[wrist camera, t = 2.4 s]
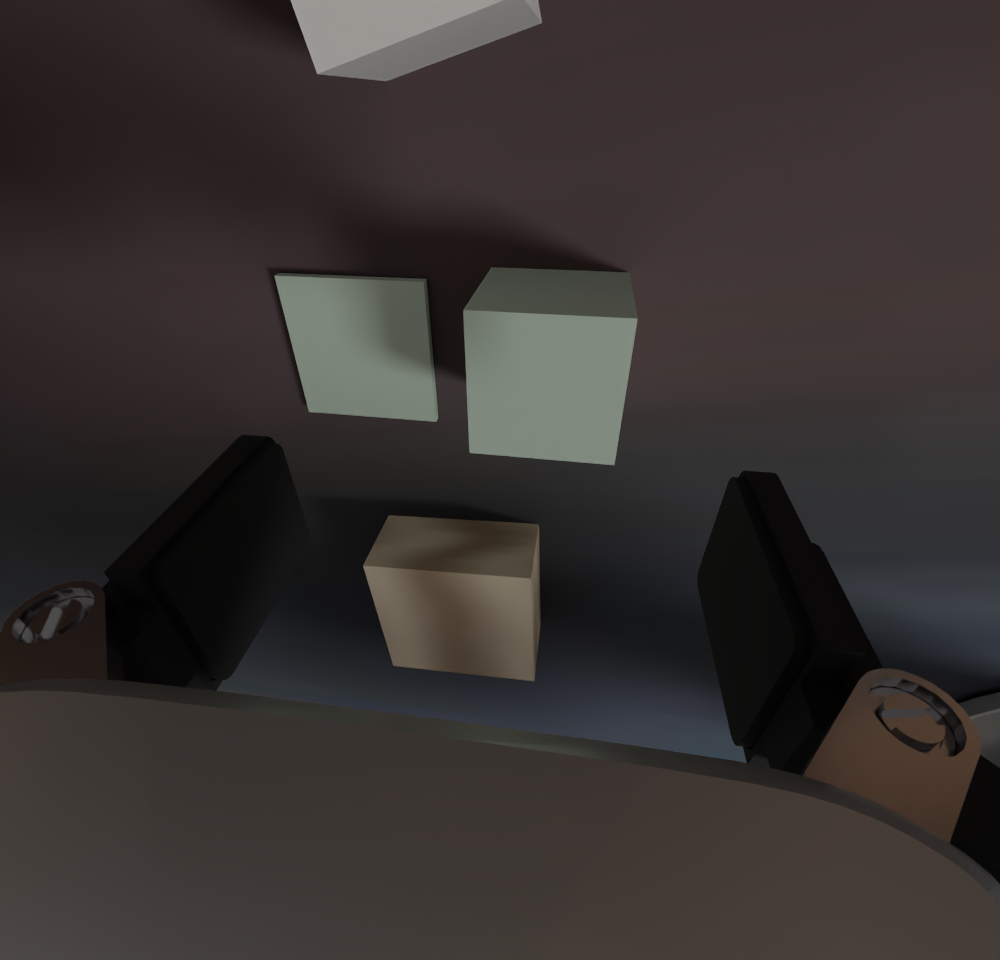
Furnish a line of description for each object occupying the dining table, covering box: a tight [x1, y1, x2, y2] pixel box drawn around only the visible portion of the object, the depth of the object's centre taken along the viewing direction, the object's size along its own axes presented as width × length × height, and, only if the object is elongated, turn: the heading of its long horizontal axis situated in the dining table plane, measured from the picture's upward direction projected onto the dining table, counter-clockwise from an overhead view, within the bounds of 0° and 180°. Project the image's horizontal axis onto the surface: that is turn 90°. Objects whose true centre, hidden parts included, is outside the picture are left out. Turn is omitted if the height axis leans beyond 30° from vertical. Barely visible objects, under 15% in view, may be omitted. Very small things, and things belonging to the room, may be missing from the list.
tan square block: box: [363, 515, 541, 681], centre depth 27 cm, size 8×8×4 cm
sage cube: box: [463, 267, 638, 465], centre depth 18 cm, size 5×5×5 cm
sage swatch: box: [275, 273, 438, 422], centre depth 21 cm, size 6×6×1 cm
